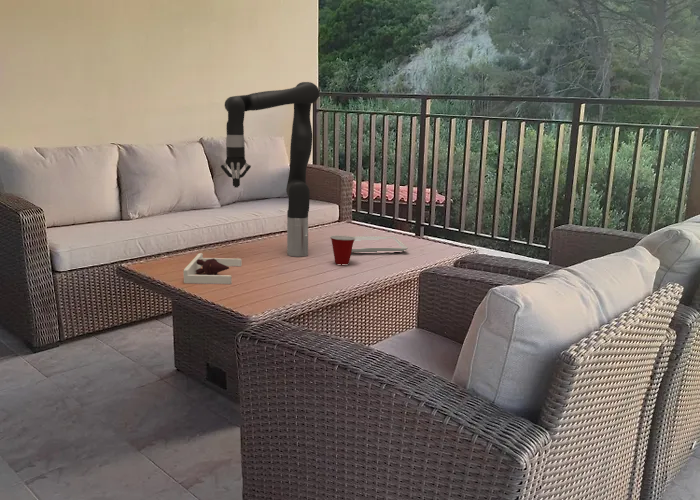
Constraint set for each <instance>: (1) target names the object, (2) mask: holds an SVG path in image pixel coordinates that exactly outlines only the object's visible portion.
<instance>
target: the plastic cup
mask: <svg viewBox="0 0 700 500" xmlns="http://www.w3.org/2000/svg"><path fill="white" fill-rule="evenodd" d="M329 237H330V240H331V243H332V244H331V245H332V252H333V256H334V263H336V264H335V265H337V264H341V265H340V266H343V265H342V264H348V263H349V264H350V261H351V255H352V253H353V252H352V247H353V243H354V240H355V239H356V238H355V237H354V236H350V235H339V234H338V235H335V234H334V235H330V236H329ZM349 264H348V265H349Z"/></svg>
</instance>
